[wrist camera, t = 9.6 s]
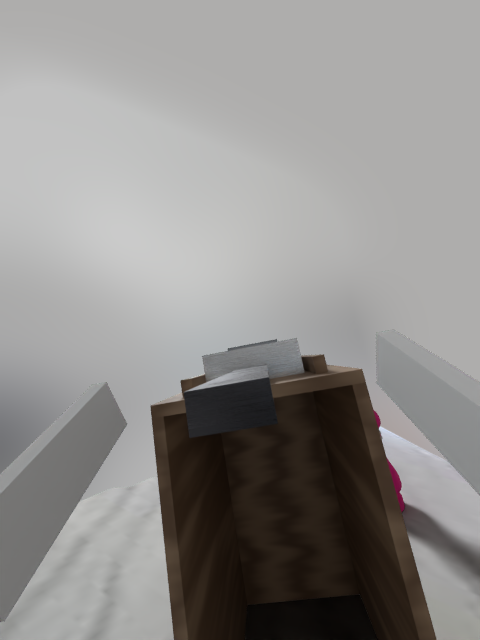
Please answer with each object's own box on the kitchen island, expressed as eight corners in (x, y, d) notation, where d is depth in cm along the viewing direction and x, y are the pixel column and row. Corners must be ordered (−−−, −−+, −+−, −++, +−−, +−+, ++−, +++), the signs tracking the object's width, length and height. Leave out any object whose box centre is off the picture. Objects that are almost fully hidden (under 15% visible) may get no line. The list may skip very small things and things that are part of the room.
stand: (205, 945, 13) (148, 387, 19) (241, 590, 32) (208, 371, 38) (523, 955, 12) (356, 349, 17) (361, 578, 31) (308, 353, 37)
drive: (92, 453, 8) (86, 332, 9) (229, 377, 37) (224, 351, 37) (389, 406, 7) (352, 277, 8) (289, 366, 36) (284, 340, 37)
